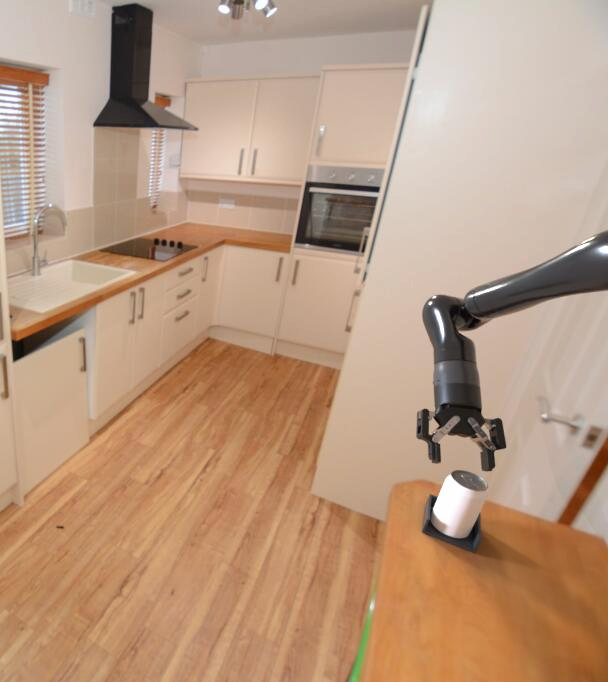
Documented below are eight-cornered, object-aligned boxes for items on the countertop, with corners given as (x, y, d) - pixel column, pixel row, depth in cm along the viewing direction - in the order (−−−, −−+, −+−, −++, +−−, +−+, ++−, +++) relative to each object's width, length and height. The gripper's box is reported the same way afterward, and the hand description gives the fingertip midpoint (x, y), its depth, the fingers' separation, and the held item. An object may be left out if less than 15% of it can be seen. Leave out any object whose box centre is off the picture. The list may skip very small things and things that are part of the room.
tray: (474, 553, 86) (481, 540, 84) (421, 532, 90) (427, 519, 89) (474, 519, 93) (480, 506, 91) (425, 501, 97) (430, 488, 96)
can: (460, 517, 93) (481, 471, 88) (474, 543, 87) (498, 495, 82) (424, 511, 94) (442, 465, 89) (436, 535, 89) (456, 488, 83)
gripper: (425, 377, 91) (429, 458, 86) (509, 386, 88) (518, 472, 83) (409, 386, 98) (411, 462, 93) (486, 395, 95) (492, 475, 90)
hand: (461, 467), depth 88 cm, fingers open, 8 cm apart
